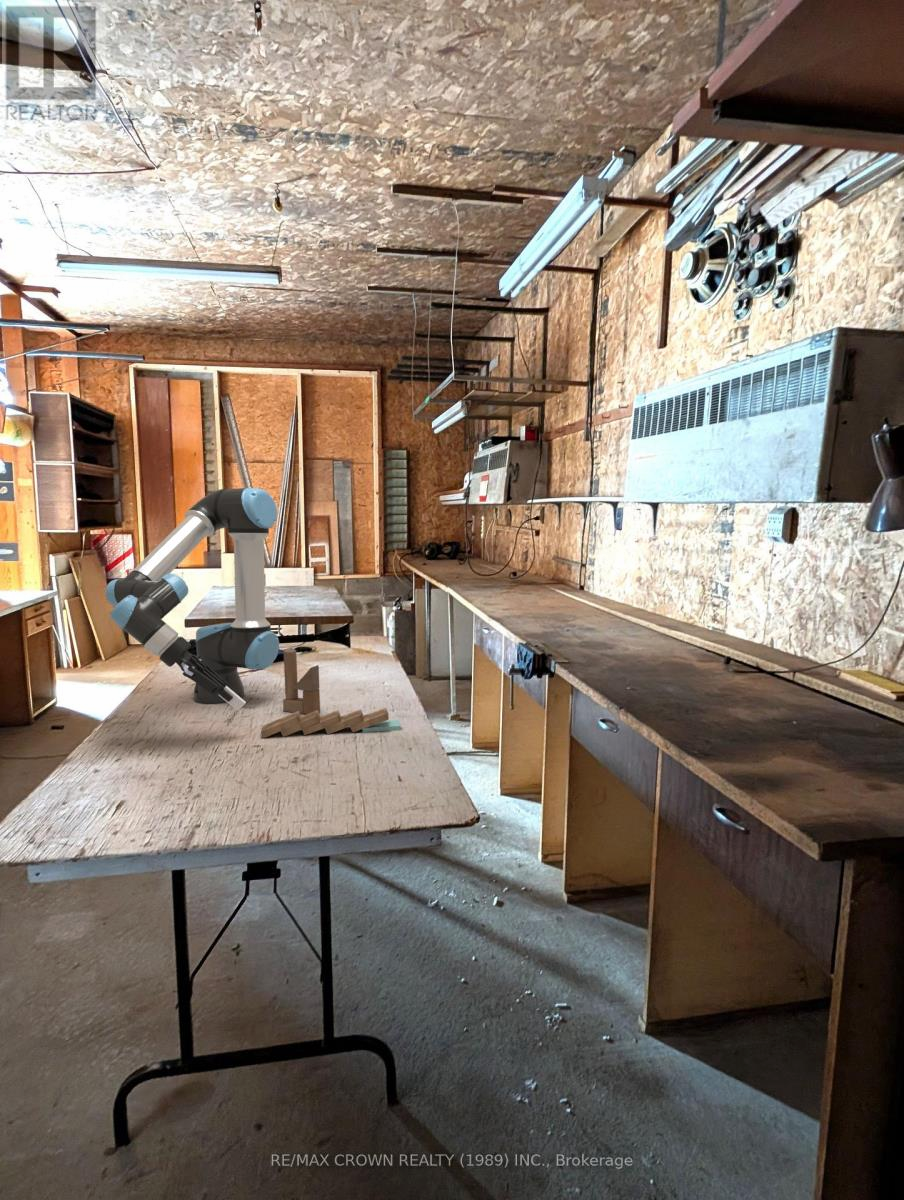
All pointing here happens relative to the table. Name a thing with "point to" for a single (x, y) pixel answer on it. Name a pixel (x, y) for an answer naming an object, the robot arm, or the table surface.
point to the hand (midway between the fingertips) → (241, 706)
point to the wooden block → (300, 686)
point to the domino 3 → (324, 722)
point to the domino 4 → (346, 721)
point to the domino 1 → (281, 724)
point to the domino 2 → (303, 723)
